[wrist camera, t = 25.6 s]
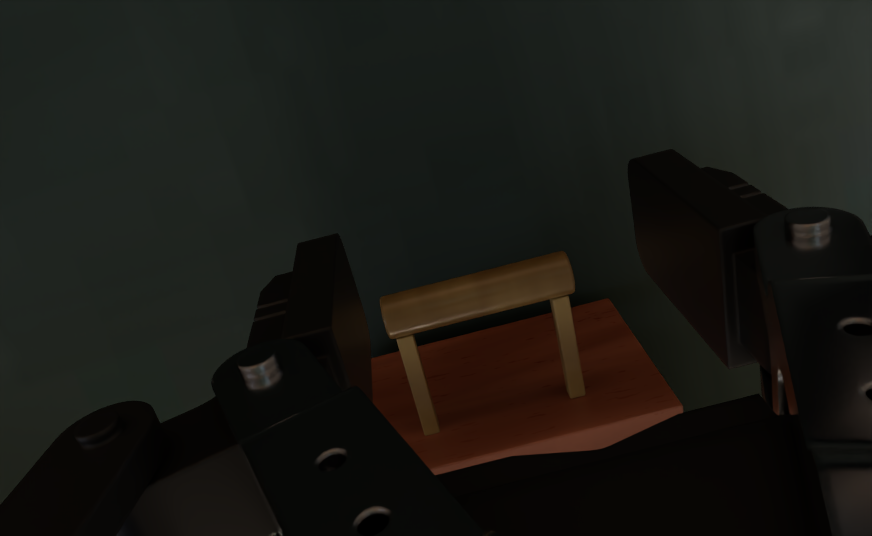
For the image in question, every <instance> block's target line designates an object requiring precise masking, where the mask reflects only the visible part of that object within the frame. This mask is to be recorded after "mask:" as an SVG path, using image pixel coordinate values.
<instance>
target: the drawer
mask: <svg viewBox="0 0 872 536" xmlns="http://www.w3.org/2000/svg"><path fill="white" fill-rule="evenodd" d="M574 291H575V281H574V275H573V271H572V268H571V264H570V261H569V259H568V257H567V255H566V253H565V252H564V251H559V252H555V253H551V254H547V255H543V256H539V257H535V258H531V259H527V260H523V261H519V262H515V263H511V264H508V265H504V266H500V267H496V268H492V269H488V270H484V271H480V272H476V273H472V274H468V275H464V276H460V277H456V278H452V279H448V280H445V281H441V282H437V283H433V284H429V285H425V286H421V287H417V288H413V289H409V290H405V291H401V292H397V293H393V294H389V295H386V296H382V297H380V308H381V313H382V317H383V321H384V325H385V328H386V332H387V334H388V336H389V338H390V339H395V338H396V340H397V344H398V347H399V351H398V352H394V353H390V354H386V355H382V356H378V357H374V358H371V368H372V393H373V404H374V405H375V406H376V407H377V409H378V410H379V411H380V412H381V413H382V414H383V416H384V417H385V418H386V419H387V420H388V421H389V422H390V424H391V425H392V426H393V427H394V428H395V429H396V431H397V432H398V433H399V434H400V435H401V436H402V438H403V439H404V440H405V441H406V442H407V443H408V445H409V446H410V447H411V448H412V449H413V450H414V452H415V453H416V454H417V455H418V456H419V457H420V458H421V460H422V461H423V462H424V463H425V464H426V465H427V467H428V468H429V469H430V470H431V471H432V472H433V474H434V475H438V474H442V473H446V472H450V471H454V470H458V469H462V468H466V467H470V466H474V465H478V464H482V463H486V462H490V461H494V460H497V459H501V458H505V457H509V456H518V455H532V454H546V453H560V452H574V451H588V450H597V449H602V448H605V447H608V446H610V445H612V444H615V443H617V442H619V441H621V440H623V439H625V438H627V437H630V436H632V435H634V434H636V433H638V432H640V431H643V430H645V429H647V428H649V427H651V426H653V425H655V424H658V423H660V422H662V421H664V420H666V419H668V418H670V417H673V416H675V415H677V414H680V413H683V406H682V404H681V403H680V401H679V400H678V398H677V397H676V395H675V394H674V392H673V391H672V390H671V388H670V387H669V385H668V384H667V382H666V381H665V379H664V378H663V376H662V375H661V374H660V372H659V371H658V369H657V368H656V366H655V365H654V363H653V362H652V360H651V359H650V358H649V356H648V355H647V353H646V352H645V350H644V349H643V347H642V346H641V345H640V343H639V342H638V340H637V339H636V337H635V336H634V334H633V333H632V331H631V330H630V329H629V327H628V326H627V324H626V323H625V321H624V320H623V318H622V317H621V315H620V314H619V313H618V311H617V310H616V308H615V307H614V305H613V304H612V302H611V301H610V299H609V298H607V299H603V300H599V301H595V302H591V303H587V304H583V305H579V306H575V307H571V306H570V300H569V296H568V294H572V293H574ZM548 299H550V304H551V310H552V313H548V314H544V315H540V316H536V317H532V318H528V319H524V320H520V321H516V322H512V323H508V324H504V325H500V326H496V327H492V328H488V329H485V330H481V331H477V332H473V333H469V334H465V335H461V336H457V337H453V338H449V339H445V340H441V341H437V342H433V343H429V344H425V345H421V346H418V347H417V344H416V340H415V337H414V333H418V332H422V331H426V330H430V329H434V328H438V327H442V326H446V325H450V324H454V323H458V322H462V321H466V320H470V319H474V318H478V317H481V316H485V315H489V314H493V313H497V312H501V311H505V310H509V309H513V308H517V307H521V306H525V305H529V304H533V303H537V302H541V301H545V300H548Z"/></svg>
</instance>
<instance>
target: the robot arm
mask: <svg viewBox="0 0 872 536" xmlns="http://www.w3.org/2000/svg"><path fill="white" fill-rule="evenodd" d="M628 180H629V188H630V196H631V204H632V212H633V220H634V228H635V236H636V243H637V248H638V252H639V256H640V259H641V262H642V264H643V266H644V268H645V270H646V272H647V273H648V275H649V276H650V277H651V278H652V279H653V281H654V282H655V283H656V284H657V285H658V286H659V288H660V289H661V290H662V291H663V292H664V293H665V295H666V296H667V297H668V298H669V299H670V301H671V302H672V303H673V304H674V305H675V306H676V308H677V309H678V310H679V311H680V312H681V313H682V315H683V316H684V317H685V318H686V319H687V321H688V322H689V323H690V324H691V325H692V326H693V328H694V329H695V330H696V331H697V332H698V333H699V335H700V336H701V337H702V338H703V339H704V341H705V342H706V343H707V344H708V345H709V346H710V348H711V349H712V350H713V351H714V352H715V353H716V355H717V356H718V357H719V358H720V359H721V361H722V362H723V363H724V364H725V365H726V366H727V368H728V369H733V368H737V367H741V366H745V365H749V364H752V363H756V362H758V363H759V364H760V376H761V392H762V397H761V396H760V395H759V394H755V395H751V396H747V397H743V398H740V399H736V400H732V401H728V402H724V403H720V404H716V405H712V406H708V407H704V408H700V409H696V410H692V411H688V412H684V413H680V414H677V415H675V416H673V417H670V418H668V419H666V420H664V421H662V422H660V423H658V424H655V425H653V426H651V427H649V428H647V429H645V430H643V431H640V432H638V433H636V434H634V435H632V436H630V437H627V438H625V439H623V440H621V441H619V442H617V443H615V444H612V445H610V446H608V447H605V448H602V449H597V450H588V451H574V452H560V453H546V454H532V455H518V456H509V457H505V458H501V459H497V460H494V461H490V462H486V463H482V464H478V465H474V466H470V467H466V468H462V469H458V470H454V471H450V472H446V473H442V474H438V475H434V474H433V472H432V471H431V470H430V469H429V468H428V467H427V465H426V464H425V463H424V462H423V461H422V460H421V458H420V457H419V456H418V455H417V454H416V453H415V452H414V450H413V449H412V448H411V447H410V446H409V445H408V443H407V442H406V441H405V440H404V439H403V438H402V436H401V435H400V434H399V433H398V432H397V431H396V429H395V428H394V427H393V426H392V425H391V424H390V422H389V421H388V420H387V419H386V418H385V417H384V416H383V414H382V413H381V412H380V411H379V410H378V409H377V407H376V406H375V405H374V404H373V393H372V368H371V344H370V335H369V330H368V325H367V321H366V317H365V313H364V310H363V307H362V303H361V300H360V297H359V294H358V291H357V287H356V284H355V281H354V278H353V275H352V271H351V268H350V265H349V262H348V259H347V255H346V252H345V249H344V246H343V243H342V241H341V238H340V236H339V234H338V233H337V234H333V235H329V236H325V237H321V238H317V239H313V240H309V241H305V242H301V243H298V245H297V250H296V256H295V261H294V267H293V272H289V273H285V274H281V275H277V276H275V277H274V278H273V279H272V280H271V281H270V282H269V284H268V285H267V286H266V287H265V288H264V289H263V290H262V291H261V293H260V297H259V301H258V305H257V308H258V309H257V310H256V313H255V317H254V321H255V322H253V325H252V328H251V332H250V336H249V340H248V344H247V348H246V349H244V350H242V351H240V352H238V353H236V354H235V355H233V356H232V357H230V358H229V359H227V360H226V361H225V362H224V363H223V364H222V365H221V366H220V367H219V368H218V369H217V370H216V372H215V373H214V375H213V377H212V382H211V385H212V388H213V391H214V393H215V395H216V397H214V398H213V399H211V400H210V401H208V402H206V403H204V404H203V405H200V406H198V407H196V408H194V409H192V410H190V411H188V412H185V413H183V414H181V415H178V416H176V417H174V418H172V419H169V420H167V421H165V422H163V423H160V422H159V420H158V418H157V416H156V414H155V411H154V409H153V408H152V407H151V405H149V404H147V403H145V402H141V401H126V402H121V403H117V404H113V405H110V406H107V407H104V408H101V409H99V410H97V411H95V412H92V413H90V414H89V415H87V416H85V417H83V418H82V419H80V420H78V421H77V422H75V423H74V424H72V425H71V426H70V427H68V428H67V429H66V430H65V431H64V432H63V433H61V434H60V435H59V437H58V438H57V439H56V440H55V441H54V442H53V443H52V444H51V446H50V447H49V448H48V449H47V450H46V452H45V453H44V454H43V455H42V456H41V458H40V459H39V460H38V461H37V462H36V463H35V465H34V466H33V467H32V468H31V469H30V471H29V472H28V473H27V474H26V475H25V477H24V478H23V479H22V480H21V481H20V482H19V484H18V485H17V486H16V487H15V488H14V490H13V491H12V492H11V493H10V494H9V496H8V497H7V498H6V499H5V500H4V502H3V503H2V504H1V505H0V536H273V535H275V534H276V536H872V236H870V234H869V232H868V230H867V228H866V226H865V224H864V223H863V221H862V220H861V219H860V218H859V217H857V216H856V215H854V214H852V213H849V212H846V211H843V210H839V209H834V208H826V207H800V208H792V209H788V208H786V207H784V206H783V205H781V204H780V203H778V202H777V201H775V200H774V199H772V198H771V197H769V196H767V195H766V194H764V193H763V194H761V191H760V190H758V189H757V188H755V187H754V186H752V185H748V183H747V182H746V181H744V180H743V179H741V178H740V177H738V176H737V175H735V174H734V173H731V172H727V171H723V170H719V169H714V168H710V167H705V168H701V169H700V168H699V167H698V166H696V165H695V164H693V163H692V162H690V161H689V160H687V159H686V158H685V157H683V156H682V155H680V154H679V153H677V152H676V151H675V150H673V149H669V150H665V151H661V152H657V153H653V154H649V155H645V156H642V157H638V158H634V159H631V160H630V161H629V163H628Z"/></svg>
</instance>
